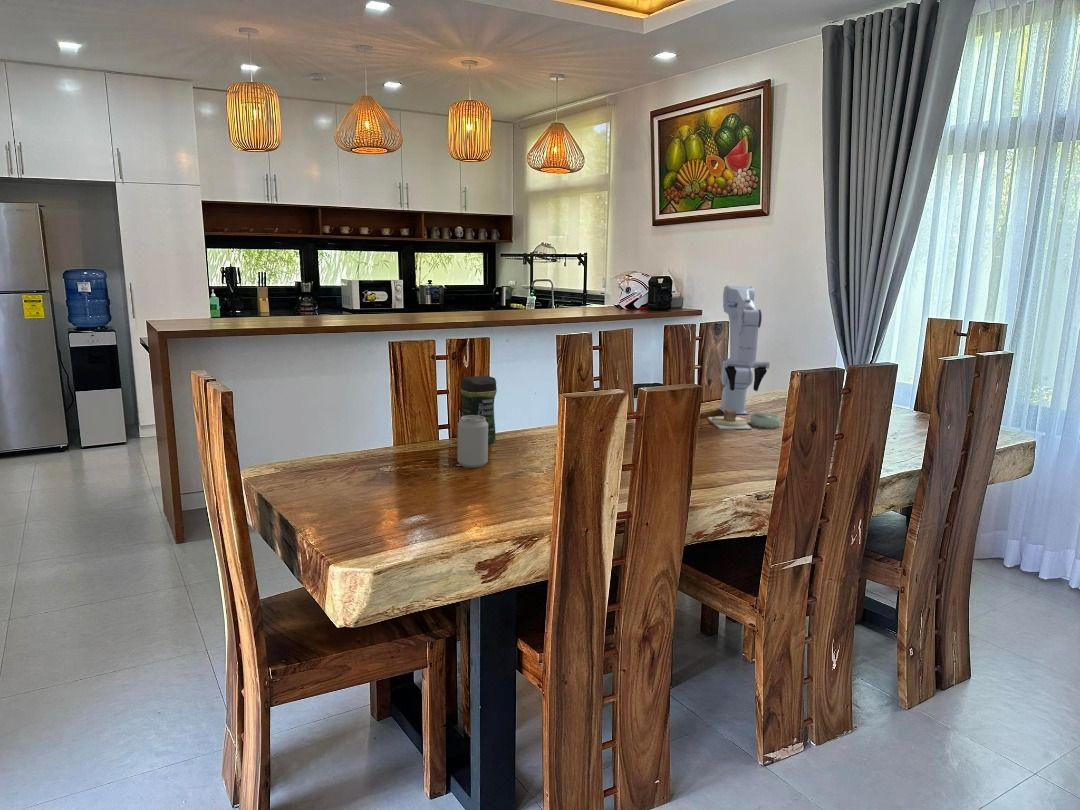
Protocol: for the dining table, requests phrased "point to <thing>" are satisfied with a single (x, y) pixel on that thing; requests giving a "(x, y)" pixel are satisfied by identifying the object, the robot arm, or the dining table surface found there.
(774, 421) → the bowl
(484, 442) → the can
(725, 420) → the lid
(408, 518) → the dining table surface
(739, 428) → the mat
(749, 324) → the robot arm
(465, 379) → the coffee jar
